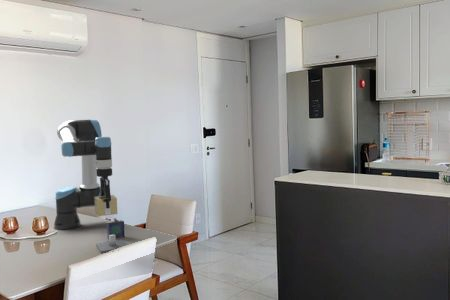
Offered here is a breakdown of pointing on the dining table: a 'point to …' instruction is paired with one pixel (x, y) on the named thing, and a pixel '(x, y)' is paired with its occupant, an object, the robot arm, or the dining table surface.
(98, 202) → the olive slotted box
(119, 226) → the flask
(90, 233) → the dining table surface
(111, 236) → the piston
